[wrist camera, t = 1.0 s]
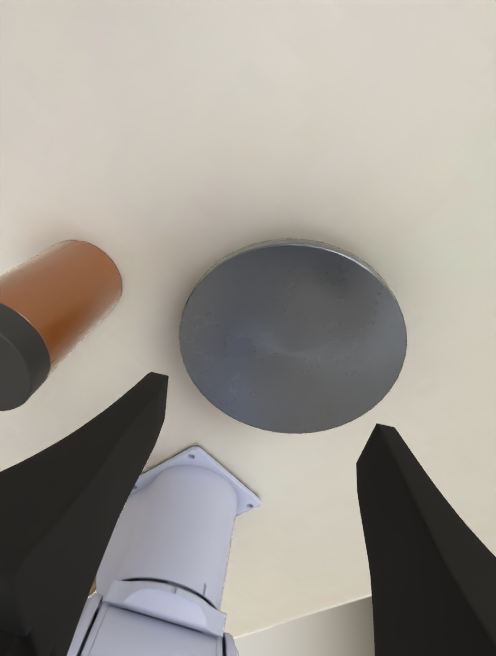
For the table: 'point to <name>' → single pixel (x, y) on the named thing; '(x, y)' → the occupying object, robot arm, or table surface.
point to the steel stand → (293, 336)
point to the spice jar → (50, 313)
